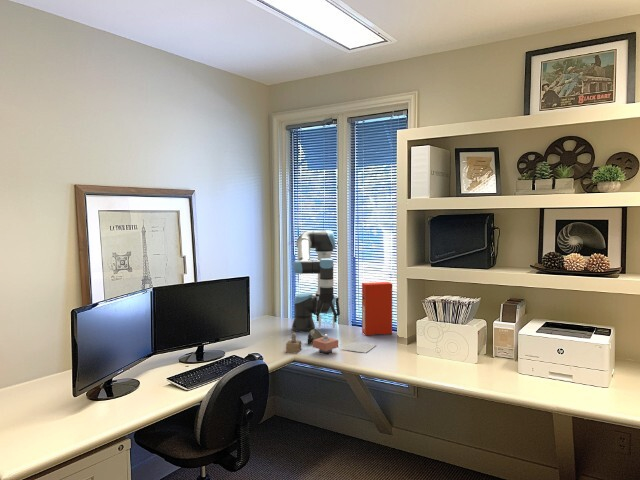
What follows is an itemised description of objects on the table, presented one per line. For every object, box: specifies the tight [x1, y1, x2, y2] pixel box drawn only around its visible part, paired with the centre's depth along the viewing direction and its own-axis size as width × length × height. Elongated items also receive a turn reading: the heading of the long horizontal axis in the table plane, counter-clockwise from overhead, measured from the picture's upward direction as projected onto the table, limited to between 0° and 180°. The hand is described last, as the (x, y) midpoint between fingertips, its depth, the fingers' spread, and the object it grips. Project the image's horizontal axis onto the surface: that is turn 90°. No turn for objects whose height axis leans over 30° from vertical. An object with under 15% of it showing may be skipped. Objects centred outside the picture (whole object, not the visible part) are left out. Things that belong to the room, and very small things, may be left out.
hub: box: [318, 333, 333, 355], centre depth 263 cm, size 7×7×10 cm
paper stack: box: [342, 341, 377, 354], centre depth 266 cm, size 23×25×1 cm
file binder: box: [361, 281, 393, 336], centre depth 301 cm, size 8×17×32 cm, turn 101°
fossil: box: [307, 328, 324, 345], centre depth 281 cm, size 11×9×10 cm
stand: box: [285, 332, 302, 354], centre depth 266 cm, size 7×7×10 cm
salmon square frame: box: [312, 337, 339, 351], centre depth 263 cm, size 10×10×4 cm
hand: (326, 327), depth 266 cm, fingers open, 7 cm apart
